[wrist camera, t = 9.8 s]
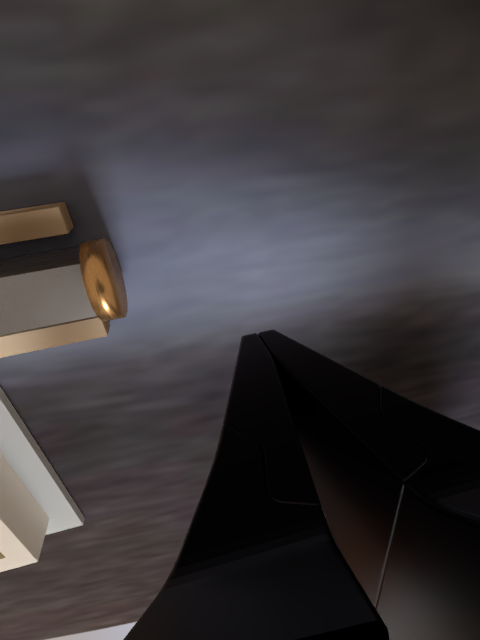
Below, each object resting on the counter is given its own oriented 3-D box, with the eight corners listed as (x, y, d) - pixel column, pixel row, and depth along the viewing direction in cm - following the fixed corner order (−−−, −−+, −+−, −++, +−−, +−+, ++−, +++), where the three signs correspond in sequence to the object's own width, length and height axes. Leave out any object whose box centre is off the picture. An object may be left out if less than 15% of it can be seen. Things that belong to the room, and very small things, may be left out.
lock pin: (107, 228, 14) (97, 253, 11) (129, 296, 16) (124, 331, 13) (-96, 262, 13) (-161, 298, 10) (-50, 331, 15) (-97, 376, 12)
